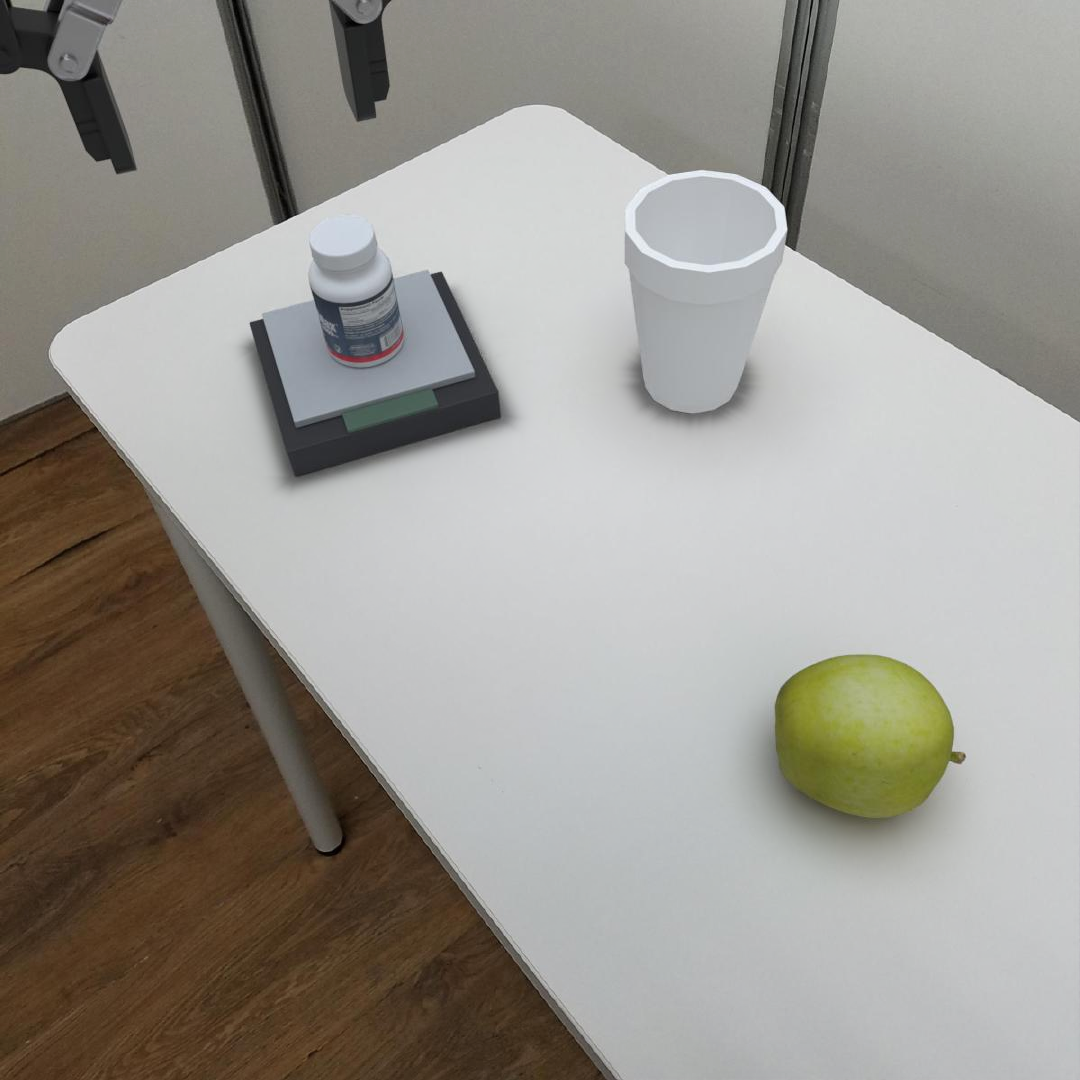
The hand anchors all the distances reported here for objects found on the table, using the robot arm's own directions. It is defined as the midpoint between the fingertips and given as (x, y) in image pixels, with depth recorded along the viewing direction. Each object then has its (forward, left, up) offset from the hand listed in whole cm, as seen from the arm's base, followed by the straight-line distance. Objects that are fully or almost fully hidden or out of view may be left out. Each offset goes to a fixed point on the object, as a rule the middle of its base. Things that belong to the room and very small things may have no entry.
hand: (244, 133), depth 39 cm
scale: (+4, +19, -31) cm, 37 cm away
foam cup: (+24, +11, -31) cm, 41 cm away
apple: (+20, -18, -31) cm, 42 cm away
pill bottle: (+4, +19, -28) cm, 34 cm away
